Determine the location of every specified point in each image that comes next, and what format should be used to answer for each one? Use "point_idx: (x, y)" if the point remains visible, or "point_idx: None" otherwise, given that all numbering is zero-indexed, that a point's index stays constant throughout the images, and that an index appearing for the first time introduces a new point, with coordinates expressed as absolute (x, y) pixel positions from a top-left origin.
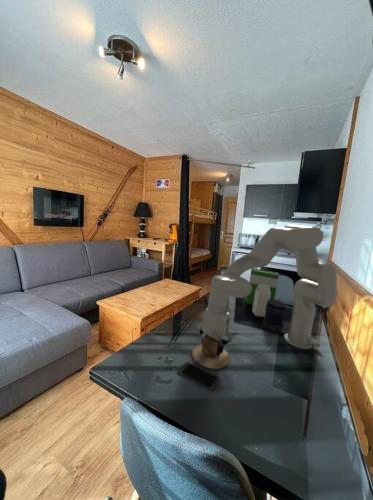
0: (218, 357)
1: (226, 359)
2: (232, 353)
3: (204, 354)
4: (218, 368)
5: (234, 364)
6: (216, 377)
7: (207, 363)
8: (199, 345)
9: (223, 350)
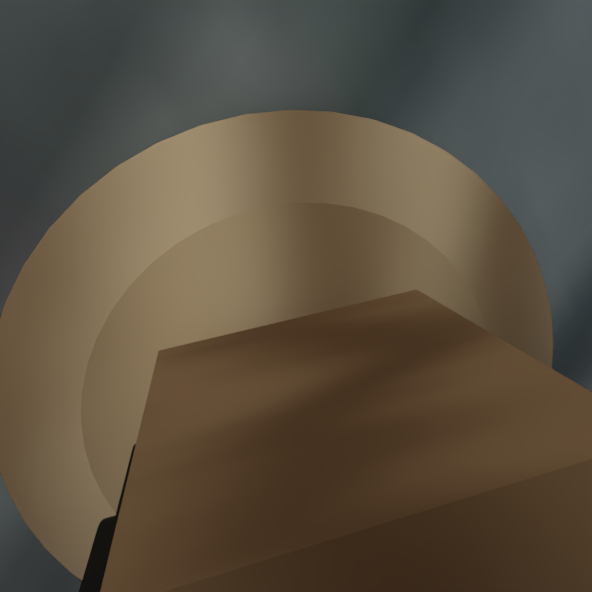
0: None
1: (510, 309)
2: (477, 43)
3: None
4: None
5: (589, 259)
6: None
7: None
8: (19, 412)
9: (372, 153)
